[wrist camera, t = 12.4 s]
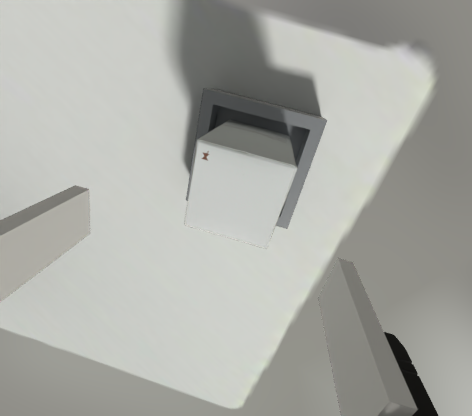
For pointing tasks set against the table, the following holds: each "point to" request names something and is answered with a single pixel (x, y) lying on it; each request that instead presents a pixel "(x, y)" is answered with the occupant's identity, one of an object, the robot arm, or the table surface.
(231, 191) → the supplement box
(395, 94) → the table surface
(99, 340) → the table surface
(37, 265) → the robot arm
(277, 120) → the box
